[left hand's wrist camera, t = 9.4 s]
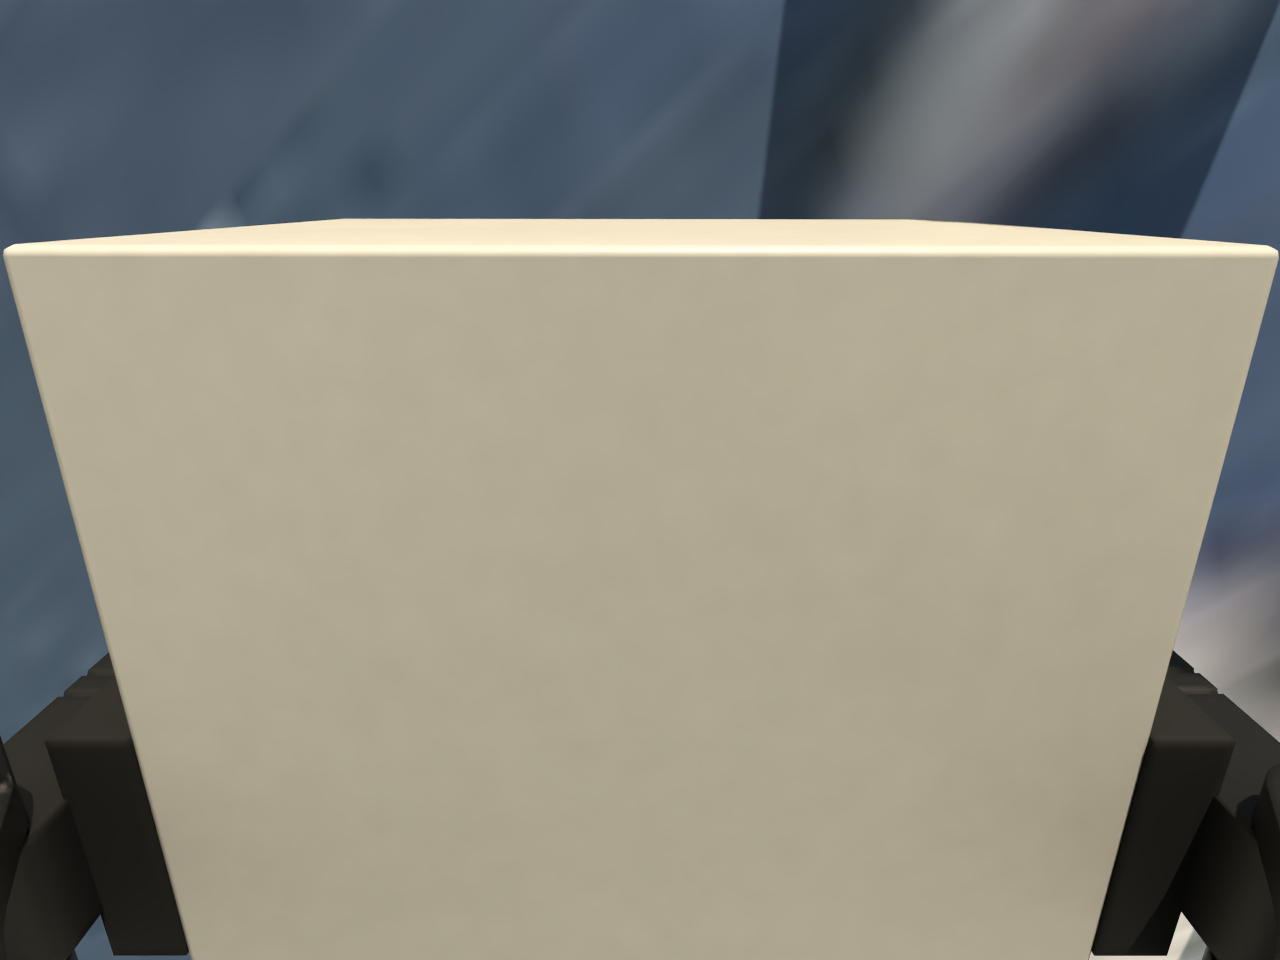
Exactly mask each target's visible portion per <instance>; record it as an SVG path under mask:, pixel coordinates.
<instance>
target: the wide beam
mask: <svg viewBox="0 0 1280 960" xmlns="http://www.w3.org/2000/svg"><path fill="white" fill-rule="evenodd" d="M3 258H4V261H5V265H6V269H7V273H8V276H9V280H10V284H11V288H12V291H13V295H14V299H15V303H16V306H17V310H18V314H19V317H20V321H21V325H22V329H23V332H24V336H25V340H26V344H27V347H28V351H29V355H30V359H31V362H32V366H33V370H34V374H35V377H36V381H37V385H38V388H39V392H40V396H41V400H42V403H43V407H44V411H45V415H46V418H47V422H48V426H49V430H50V433H51V437H52V441H53V445H54V448H55V452H56V456H57V459H58V463H59V467H60V471H61V474H62V478H63V482H64V486H65V489H66V493H67V497H68V501H69V504H70V508H71V512H72V516H73V519H74V523H75V527H76V530H77V534H78V538H79V542H80V545H81V549H82V553H83V557H84V560H85V564H86V568H87V572H88V575H89V579H90V583H91V587H92V590H93V594H94V598H95V601H96V605H97V609H98V613H99V616H100V620H101V624H102V628H103V631H104V635H105V639H106V643H107V646H108V650H109V654H110V658H111V661H112V665H113V669H114V672H115V676H116V680H117V684H118V687H119V691H120V695H121V699H122V702H123V706H124V710H125V714H126V717H127V721H128V725H129V728H130V732H131V736H132V740H133V743H134V747H135V751H136V755H137V758H138V762H139V766H140V770H141V773H142V777H143V781H144V785H145V788H146V792H147V796H148V799H149V803H150V807H151V811H152V814H153V818H154V822H155V826H156V829H157V833H158V837H159V841H160V844H161V848H162V852H163V856H164V859H165V863H166V867H167V871H168V874H169V878H170V882H171V885H172V889H173V893H174V897H175V900H176V904H177V908H178V912H179V915H180V919H181V923H182V927H183V930H184V934H185V938H186V941H187V945H188V949H189V953H190V956H191V960H1089V957H1090V953H1091V950H1092V946H1093V942H1094V939H1095V935H1096V931H1097V927H1098V924H1099V920H1100V916H1101V913H1102V909H1103V905H1104V902H1105V898H1106V894H1107V890H1108V887H1109V883H1110V879H1111V876H1112V872H1113V868H1114V865H1115V861H1116V857H1117V854H1118V850H1119V846H1120V842H1121V839H1122V835H1123V831H1124V828H1125V824H1126V820H1127V817H1128V813H1129V809H1130V806H1131V802H1132V798H1133V794H1134V791H1135V787H1136V783H1137V780H1138V776H1139V772H1140V769H1141V765H1142V761H1143V757H1144V754H1145V750H1146V746H1147V743H1148V739H1149V735H1150V732H1151V728H1152V724H1153V721H1154V717H1155V713H1156V709H1157V706H1158V702H1159V698H1160V695H1161V691H1162V687H1163V684H1164V680H1165V676H1166V673H1167V669H1168V665H1169V661H1170V658H1171V654H1172V650H1173V647H1174V643H1175V639H1176V636H1177V632H1178V628H1179V624H1180V621H1181V617H1182V613H1183V610H1184V606H1185V602H1186V599H1187V595H1188V591H1189V588H1190V584H1191V580H1192V576H1193V573H1194V569H1195V565H1196V562H1197V558H1198V554H1199V551H1200V547H1201V543H1202V540H1203V536H1204V532H1205V528H1206V525H1207V521H1208V517H1209V514H1210V510H1211V506H1212V503H1213V499H1214V495H1215V492H1216V488H1217V484H1218V480H1219V477H1220V473H1221V469H1222V466H1223V462H1224V458H1225V455H1226V451H1227V447H1228V443H1229V440H1230V436H1231V432H1232V429H1233V425H1234V421H1235V418H1236V414H1237V410H1238V407H1239V403H1240V399H1241V395H1242V392H1243V388H1244V384H1245V381H1246V377H1247V373H1248V370H1249V366H1250V362H1251V359H1252V355H1253V351H1254V347H1255V344H1256V340H1257V336H1258V333H1259V329H1260V325H1261V322H1262V318H1263V314H1264V310H1265V307H1266V303H1267V299H1268V296H1269V292H1270V288H1271V285H1272V281H1273V277H1274V274H1275V270H1276V266H1277V262H1278V259H1279V256H1278V251H1277V250H1275V249H1273V248H1271V247H1269V246H1266V245H1253V244H1240V243H1227V242H1215V241H1202V240H1189V239H1177V238H1164V237H1151V236H1138V235H1126V234H1113V233H1100V232H1088V231H1075V230H1062V229H1049V228H1037V227H1024V226H1011V225H998V224H986V223H973V222H960V221H948V220H855V219H337V220H324V221H311V222H298V223H285V224H272V225H259V226H246V227H233V228H220V229H207V230H194V231H181V232H168V233H155V234H142V235H129V236H116V237H103V238H90V239H77V240H64V241H51V242H38V243H25V244H14V245H12V246H10V247H8V248H6V249H4V255H3Z"/></svg>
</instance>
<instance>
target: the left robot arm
mask: <svg viewBox="0 0 1280 960" xmlns="http://www.w3.org/2000/svg"><path fill="white" fill-rule="evenodd" d="M1181 912H1182V913H1183V914H1184V916H1185V917H1186V918H1187V920H1188V921H1189V922H1190V924H1191V925H1192V926H1193V928H1194V929H1195V930H1196V932H1197V933H1198V934H1199V936H1200V937H1201V938H1202V940H1203V941H1204V942H1205V944H1206V945H1207V947H1206V950H1205V953H1204V955H1203V958H1202V960H1280V743H1279V742H1278V741H1277V740H1276V739H1275V738H1274V737H1272V736H1271V735H1270V734H1269V733H1268V732H1267V731H1266V730H1264V729H1263V728H1262V727H1261V726H1260V725H1259V724H1257V723H1256V722H1255V721H1254V720H1253V719H1252V718H1251V717H1249V716H1248V715H1247V714H1246V713H1245V712H1244V711H1242V710H1241V709H1240V708H1239V707H1238V706H1237V705H1236V704H1234V703H1233V702H1232V701H1231V700H1230V699H1229V698H1227V697H1226V696H1225V695H1224V694H1218V692H1217V688H1216V687H1215V686H1214V685H1212V684H1211V683H1210V682H1209V681H1208V680H1207V679H1205V678H1204V677H1203V676H1202V675H1201V674H1200V673H1194V668H1193V667H1192V666H1190V665H1189V664H1188V663H1187V662H1186V661H1185V660H1184V659H1182V658H1181V657H1180V656H1179V655H1178V654H1177V653H1175V652H1174V651H1173V650H1172V654H1171V658H1170V661H1169V665H1168V669H1167V673H1166V676H1165V680H1164V684H1163V687H1162V691H1161V695H1160V698H1159V702H1158V706H1157V709H1156V713H1155V717H1154V721H1153V724H1152V728H1151V732H1150V735H1149V739H1148V743H1147V746H1146V750H1145V754H1144V757H1143V761H1142V765H1141V769H1140V772H1139V776H1138V780H1137V783H1136V787H1135V791H1134V794H1133V798H1132V802H1131V806H1130V809H1129V813H1128V817H1127V820H1126V824H1125V828H1124V831H1123V835H1122V839H1121V842H1120V846H1119V850H1118V854H1117V857H1116V861H1115V865H1114V868H1113V872H1112V876H1111V879H1110V883H1109V887H1108V890H1107V894H1106V898H1105V902H1104V905H1103V909H1102V913H1101V916H1100V920H1099V924H1098V927H1097V931H1096V935H1095V939H1094V942H1093V946H1092V950H1091V951H1092V953H1093V954H1094V956H1167V953H1168V950H1169V947H1170V944H1171V941H1172V938H1173V935H1174V932H1175V929H1176V926H1177V923H1178V920H1179V916H1180V913H1181ZM100 914H101V917H102V920H103V923H104V927H105V930H106V933H107V936H108V939H109V942H110V945H111V948H112V951H113V954H114V955H187V954H188V952H189V949H188V945H187V941H186V938H185V934H184V930H183V927H182V923H181V919H180V915H179V912H178V908H177V904H176V900H175V897H174V893H173V889H172V885H171V882H170V878H169V874H168V871H167V867H166V863H165V859H164V856H163V852H162V848H161V844H160V841H159V837H158V833H157V829H156V826H155V822H154V818H153V814H152V811H151V807H150V803H149V799H148V796H147V792H146V788H145V785H144V781H143V777H142V773H141V770H140V766H139V762H138V758H137V755H136V751H135V747H134V743H133V740H132V736H131V732H130V728H129V725H128V721H127V717H126V714H125V710H124V706H123V702H122V699H121V695H120V691H119V687H118V684H117V680H116V676H115V672H114V669H113V665H112V661H111V658H110V654H109V653H108V654H107V655H106V656H104V657H103V658H102V659H101V660H100V661H99V662H98V663H96V664H95V665H94V666H93V667H92V668H91V669H90V670H88V674H87V676H81V677H80V678H79V679H78V680H77V681H76V682H75V683H73V684H72V685H71V686H70V687H69V688H68V689H67V690H65V691H64V696H63V697H57V698H56V699H55V700H54V701H53V702H52V703H51V704H49V705H48V706H47V707H46V708H45V709H44V710H43V711H41V712H40V713H39V714H38V715H37V716H36V717H34V718H33V719H32V720H31V721H30V722H29V723H28V724H26V725H25V726H24V727H23V728H22V729H21V730H20V731H18V732H17V733H16V734H15V735H14V736H13V737H12V738H10V739H9V740H8V741H7V742H6V743H5V744H4V745H3V742H2V739H1V737H0V960H78V958H77V955H76V953H75V950H74V949H75V948H76V946H77V945H78V943H79V942H80V941H81V939H82V938H83V937H84V935H85V934H86V933H87V931H88V930H89V929H90V927H91V926H92V925H93V923H94V922H95V921H96V919H97V918H98V917H99V915H100Z"/></svg>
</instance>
